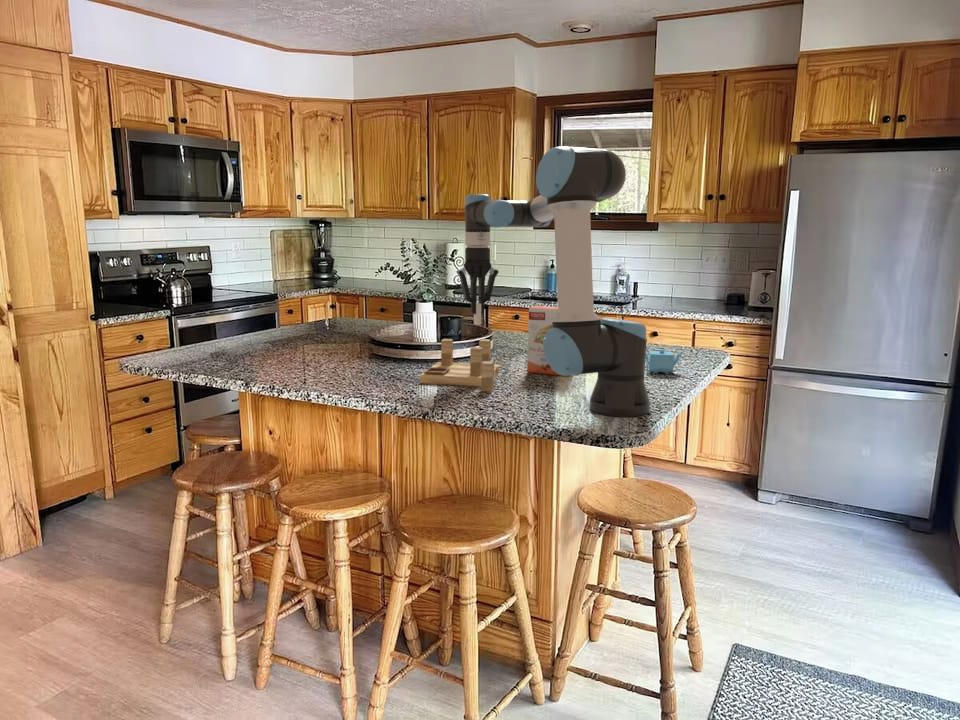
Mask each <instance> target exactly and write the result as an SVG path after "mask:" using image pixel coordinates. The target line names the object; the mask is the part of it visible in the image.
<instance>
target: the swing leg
mask: <svg viewBox="0 0 960 720" xmlns="http://www.w3.org/2000/svg"><path fill="white" fill-rule="evenodd" d="M491 342H492V340H491V339H487V338H486V339H484V338H481V339H480V340H479V342H478V344H479V345H478V347H483V357H482V362H483V361H490V362H491V357H492V356H491V352H492V348H491V347H492V345H491V344H492V343H491Z"/></svg>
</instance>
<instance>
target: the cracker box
mask: <svg viewBox="0 0 960 720" xmlns="http://www.w3.org/2000/svg"><path fill="white" fill-rule="evenodd" d="M557 314H558V306H544V305H534V306H530V307H529V308H528V325H527V326H528V327H527V328H528V331H527V332H528V333H527V336H528V338H527V369H526V370H527V373H531V374H541V375H552V376H562V377H563V375H559V374H557V373H556V372H555V371H553V369H552V368H551V366H550V365H549V364H548V362H547V360H546V358H545V354H544V349H543V340H544V337H545V334H546V332H547V331H548V330H550V329H551V328H552V320H553V319H554V318H555V317H556V316H557ZM566 377H571V375H567V376H566Z"/></svg>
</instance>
